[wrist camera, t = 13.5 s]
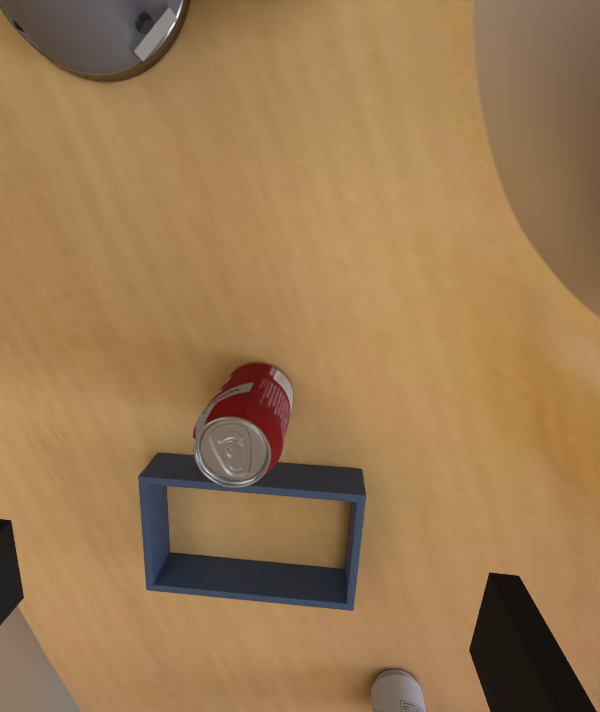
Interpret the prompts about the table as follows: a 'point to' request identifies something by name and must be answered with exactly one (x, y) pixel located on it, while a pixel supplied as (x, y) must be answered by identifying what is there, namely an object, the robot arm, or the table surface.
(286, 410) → the soda can
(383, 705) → the energy drink can
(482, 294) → the table surface
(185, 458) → the open box
